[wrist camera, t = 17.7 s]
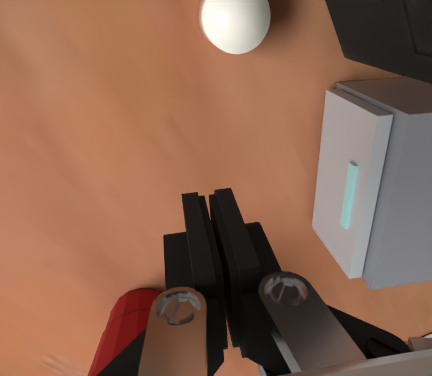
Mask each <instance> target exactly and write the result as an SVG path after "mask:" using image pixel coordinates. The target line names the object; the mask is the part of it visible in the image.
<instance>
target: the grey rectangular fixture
mask: <svg viewBox="0 0 432 376" xmlns="http://www.w3.org/2000/svg"><path fill="white" fill-rule="evenodd" d="M392 119H393V114H391V113H389V112H387V111H384V110H382V109H380V108H378V107H376V106H374V105H372V104H370V103H368V102H366V101H363V100H361V99H359V98H357V97H355V96H353V95H351V94H349V93H347V92H344V91H342V90H340V89H330V90H326V97H325V107H324V116H323V126H322V136H321V145H320V155H319V164H318V174H317V183H316V193H315V202H314V212H313V221H312V228H313V229H314V231H315V232H316V233H317V235H318V236H319V238H320V239H321V240H322V242H323V243H324V245H325V246H326V247H327V249H328V250H329V252H330V253H331V254H332V256H333V257H334V259H335V260H336V261H337V263H338V264H339V266H340V267H341V268H342V270H343V271H344V273H345V274H346V275H347V277H348V278H349V279H351V278H358V277H362V272H363V267H364V262H365V257H366V252H367V247H368V242H369V236H370V231H371V226H372V221H373V216H374V211H375V206H376V201H377V196H378V191H379V185H380V180H381V175H382V170H383V165H384V160H385V155H386V150H387V145H388V140H389V135H390V129H391V124H392Z"/></svg>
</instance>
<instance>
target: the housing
mask: <svg viewBox="0 0 432 376" xmlns="http://www.w3.org/2000/svg"><path fill="white" fill-rule="evenodd" d="M335 89H340V90H342V91H344V92H347V93H349V94H351V95H353V96H355V97H357V98H359V99H361V100H363V101H366V102H368V103H370V104H372V105H374V106H376V107H378V108H380V109H382V110H384V111H387V112H389V113H391V114H393V119H392V124H391V129H390V135H389V140H388V145H387V150H386V155H385V160H384V165H383V170H382V175H381V180H380V185H379V191H378V196H377V201H376V206H375V211H374V216H373V221H372V226H371V231H370V236H369V242H368V247H367V252H366V257H365V262H364V267H363V272H362V279H363V280H364V281H365V283H366V284H367V285H368V287H369V288H370V289H371V290H374V289H380V288H387V287H393V286H400V285H406V284H413V283H419V282H426V281H432V84H429V83H426V82H423V81H419V80H416V79H413V78H409V77H399V78H386V79H372V80H359V81H346V82H336V88H335Z"/></svg>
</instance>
